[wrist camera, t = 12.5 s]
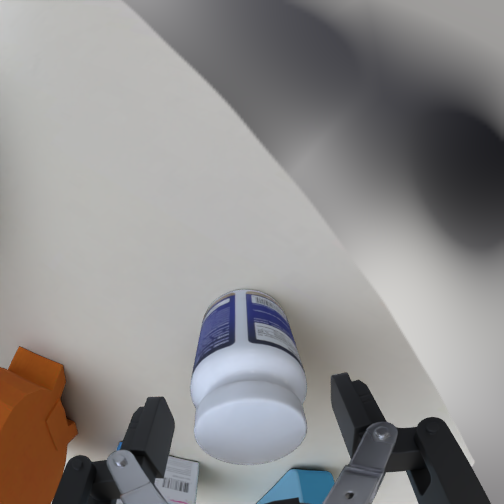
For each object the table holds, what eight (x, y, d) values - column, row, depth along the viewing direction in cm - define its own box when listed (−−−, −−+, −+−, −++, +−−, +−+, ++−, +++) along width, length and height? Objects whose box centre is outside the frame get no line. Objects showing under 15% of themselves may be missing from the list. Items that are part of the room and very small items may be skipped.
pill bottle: (214, 364, 21) (202, 475, 11) (194, 294, 19) (159, 397, 10) (292, 351, 21) (321, 460, 11) (281, 279, 19) (316, 375, 10)
